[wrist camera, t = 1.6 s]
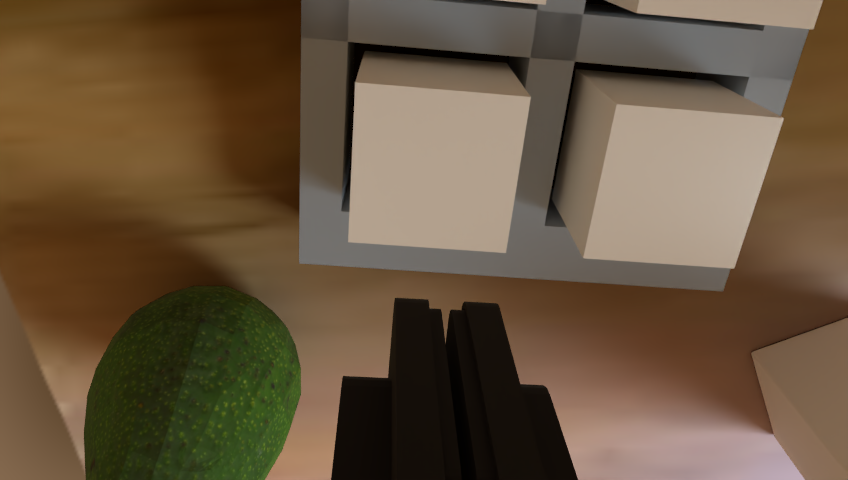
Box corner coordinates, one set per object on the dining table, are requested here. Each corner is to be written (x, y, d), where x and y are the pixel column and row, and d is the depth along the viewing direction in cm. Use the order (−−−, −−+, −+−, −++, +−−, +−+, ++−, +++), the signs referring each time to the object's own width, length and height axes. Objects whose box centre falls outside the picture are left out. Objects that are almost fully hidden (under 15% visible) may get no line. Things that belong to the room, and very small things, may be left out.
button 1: (506, 63, 23) (531, 96, 19) (488, 194, 26) (505, 253, 21) (364, 50, 23) (355, 82, 19) (358, 184, 25) (347, 242, 21)
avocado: (301, 402, 33) (251, 638, 22) (139, 377, 32) (2, 610, 21) (326, 262, 29) (281, 460, 19) (145, 230, 29) (-12, 418, 18)
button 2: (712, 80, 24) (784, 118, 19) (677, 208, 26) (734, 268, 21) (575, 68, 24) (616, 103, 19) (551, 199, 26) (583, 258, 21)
